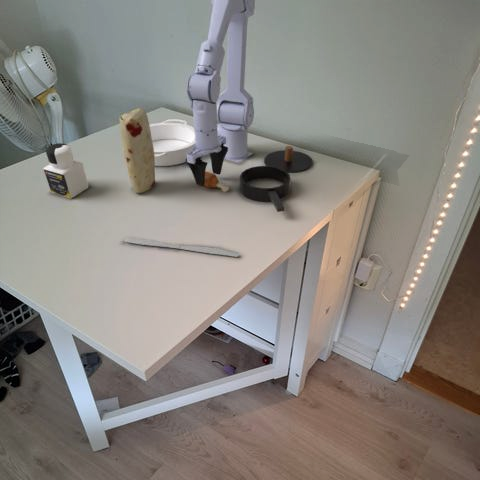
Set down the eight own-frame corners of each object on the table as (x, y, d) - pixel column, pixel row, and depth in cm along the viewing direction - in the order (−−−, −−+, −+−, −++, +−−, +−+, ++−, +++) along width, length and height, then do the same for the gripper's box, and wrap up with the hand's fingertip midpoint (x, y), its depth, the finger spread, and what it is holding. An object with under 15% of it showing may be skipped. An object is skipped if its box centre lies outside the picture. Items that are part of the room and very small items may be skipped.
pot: (147, 131, 147) (145, 116, 144) (211, 136, 144) (210, 121, 141) (113, 169, 127) (110, 153, 124) (187, 175, 124) (186, 159, 121)
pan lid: (255, 167, 128) (255, 150, 124) (278, 149, 136) (279, 134, 133) (298, 179, 122) (300, 162, 119) (320, 160, 131) (322, 144, 127)
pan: (230, 194, 116) (230, 180, 113) (256, 175, 124) (256, 161, 121) (273, 208, 111) (274, 194, 108) (297, 187, 119) (299, 173, 116)
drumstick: (195, 186, 120) (194, 173, 117) (203, 180, 122) (203, 167, 119) (224, 195, 116) (224, 182, 113) (232, 189, 118) (232, 176, 115)
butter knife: (128, 234, 102) (122, 240, 99) (240, 251, 97) (237, 258, 95) (128, 236, 102) (123, 242, 100) (240, 253, 98) (237, 260, 95)
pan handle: (267, 194, 111) (267, 190, 111) (274, 193, 112) (274, 189, 111) (277, 212, 105) (277, 208, 104) (284, 211, 105) (284, 207, 105)
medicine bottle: (50, 193, 117) (36, 148, 109) (69, 181, 121) (57, 138, 113) (70, 199, 115) (57, 154, 106) (89, 187, 119) (78, 143, 111)
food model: (147, 198, 115) (134, 119, 101) (125, 194, 116) (109, 116, 102) (163, 181, 122) (153, 105, 108) (142, 178, 123) (129, 102, 109)
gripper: (201, 141, 103) (204, 194, 112) (235, 121, 111) (235, 172, 121) (178, 134, 105) (183, 187, 115) (212, 116, 114) (214, 166, 123)
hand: (208, 179), depth 118 cm, fingers open, 7 cm apart
